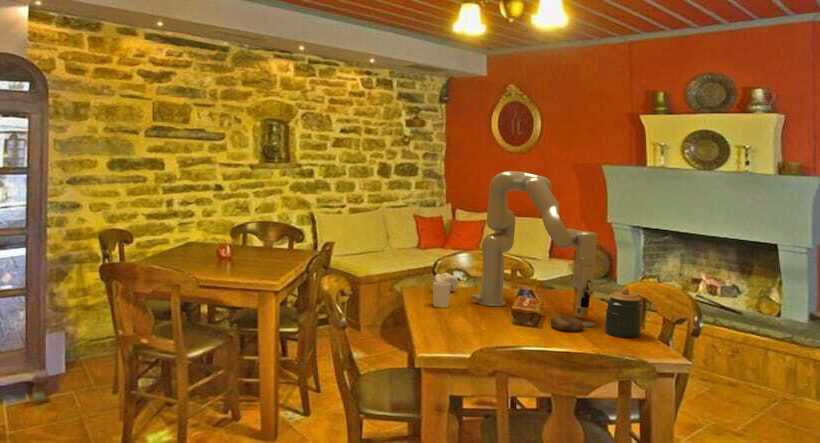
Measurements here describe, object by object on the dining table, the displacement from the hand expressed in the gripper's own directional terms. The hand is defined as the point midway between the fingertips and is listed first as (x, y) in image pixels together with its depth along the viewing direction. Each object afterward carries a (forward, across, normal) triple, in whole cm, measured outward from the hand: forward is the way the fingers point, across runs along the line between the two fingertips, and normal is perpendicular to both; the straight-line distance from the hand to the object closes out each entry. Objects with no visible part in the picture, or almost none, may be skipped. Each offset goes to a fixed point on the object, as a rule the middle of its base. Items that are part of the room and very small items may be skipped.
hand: (581, 304), depth 247 cm
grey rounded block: (+8, -50, -46) cm, 69 cm away
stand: (+6, +13, -11) cm, 18 cm away
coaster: (+6, +9, -1) cm, 11 cm away
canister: (+6, +21, +8) cm, 23 cm away
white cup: (+8, -23, -53) cm, 59 cm away
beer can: (+5, 0, 0) cm, 5 cm away
